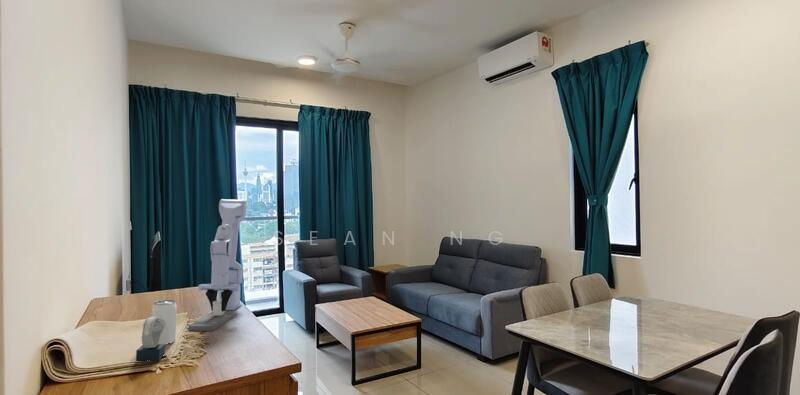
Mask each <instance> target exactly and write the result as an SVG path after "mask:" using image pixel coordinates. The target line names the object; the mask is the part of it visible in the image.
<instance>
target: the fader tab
mask: <svg viewBox="0 0 800 395" xmlns="http://www.w3.org/2000/svg"><path fill="white" fill-rule="evenodd" d="M212 304H213V311H212V312H213V315H217V316H221V315H223V314H224V312H226V310H225V311H222V309H221V307H222V299H218V298H217V300H215V301H213V302H212Z"/></svg>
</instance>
